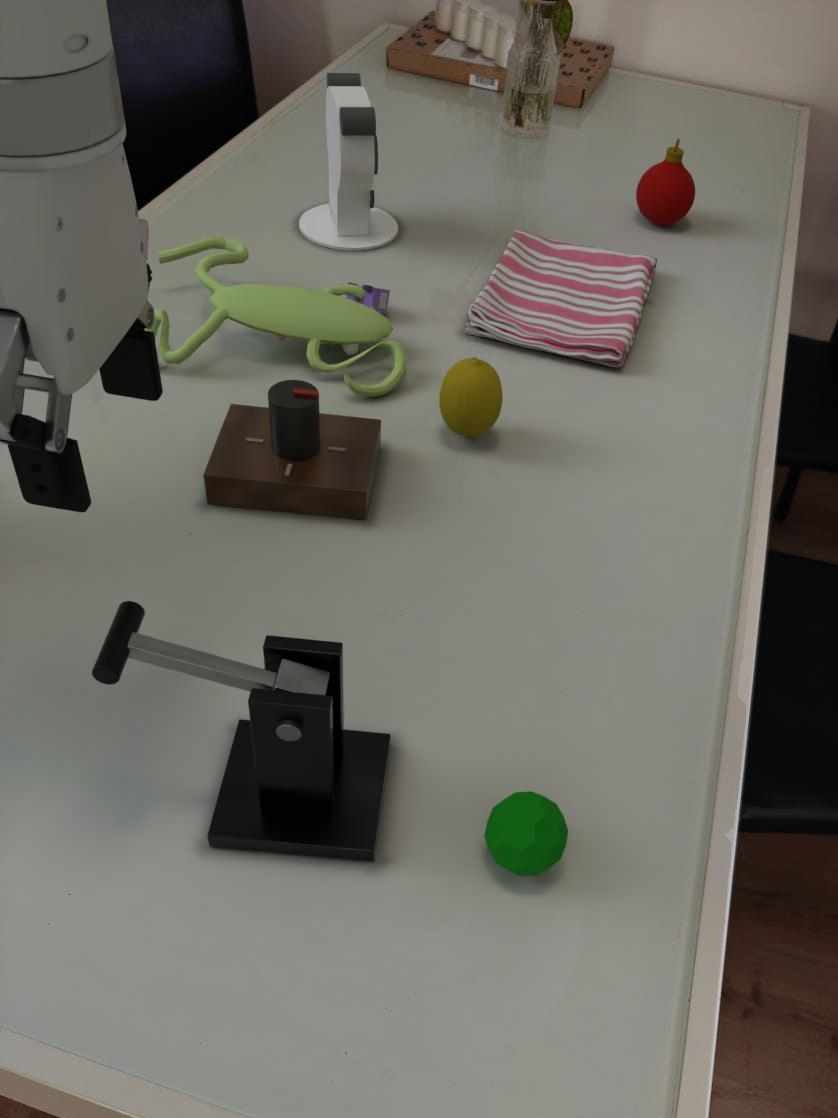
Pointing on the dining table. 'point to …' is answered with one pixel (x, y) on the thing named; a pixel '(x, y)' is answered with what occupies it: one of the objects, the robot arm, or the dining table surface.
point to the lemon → (470, 397)
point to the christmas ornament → (666, 189)
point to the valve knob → (294, 419)
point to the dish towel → (564, 299)
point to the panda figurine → (349, 173)
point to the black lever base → (301, 768)
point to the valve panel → (294, 466)
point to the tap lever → (194, 660)
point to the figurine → (288, 314)
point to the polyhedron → (526, 833)
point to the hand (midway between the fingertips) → (98, 446)
